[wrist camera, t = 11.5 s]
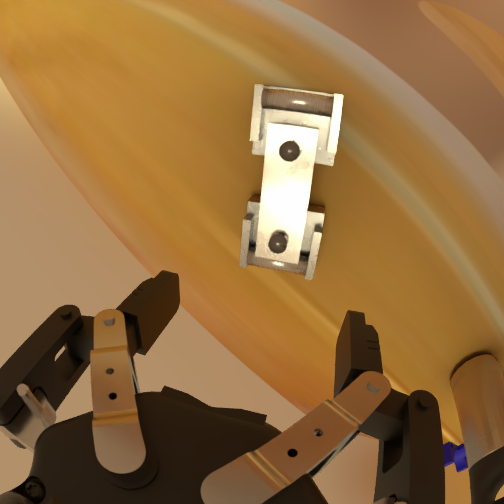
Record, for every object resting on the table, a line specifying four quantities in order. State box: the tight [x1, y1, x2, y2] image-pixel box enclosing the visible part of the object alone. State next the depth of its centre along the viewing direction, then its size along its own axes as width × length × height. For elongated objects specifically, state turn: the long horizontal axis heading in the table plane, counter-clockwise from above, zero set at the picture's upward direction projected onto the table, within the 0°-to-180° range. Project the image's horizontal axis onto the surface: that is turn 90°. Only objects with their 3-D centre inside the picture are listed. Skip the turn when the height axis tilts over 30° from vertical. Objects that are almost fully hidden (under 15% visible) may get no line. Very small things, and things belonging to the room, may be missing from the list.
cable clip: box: [443, 442, 468, 472], centre depth 45 cm, size 12×4×6 cm, turn 54°
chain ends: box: [239, 84, 343, 280], centre depth 29 cm, size 8×19×4 cm, turn 175°
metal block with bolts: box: [255, 122, 319, 264], centre depth 26 cm, size 4×12×6 cm, turn 175°
